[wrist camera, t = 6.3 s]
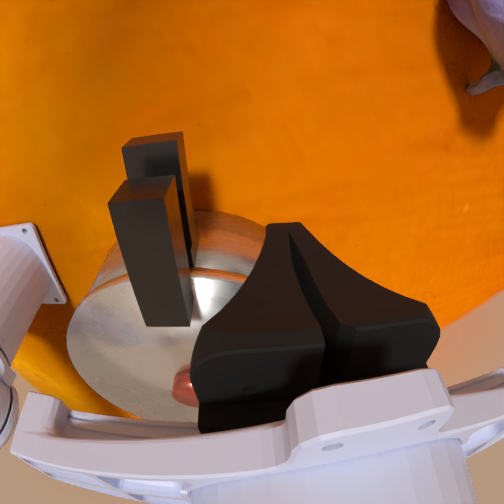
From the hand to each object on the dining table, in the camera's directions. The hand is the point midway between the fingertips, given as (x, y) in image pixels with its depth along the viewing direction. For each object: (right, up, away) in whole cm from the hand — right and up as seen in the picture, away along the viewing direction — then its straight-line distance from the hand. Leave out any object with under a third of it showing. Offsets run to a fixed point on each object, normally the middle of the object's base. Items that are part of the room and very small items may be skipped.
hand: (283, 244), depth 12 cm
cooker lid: (-5, -6, +6) cm, 10 cm away
